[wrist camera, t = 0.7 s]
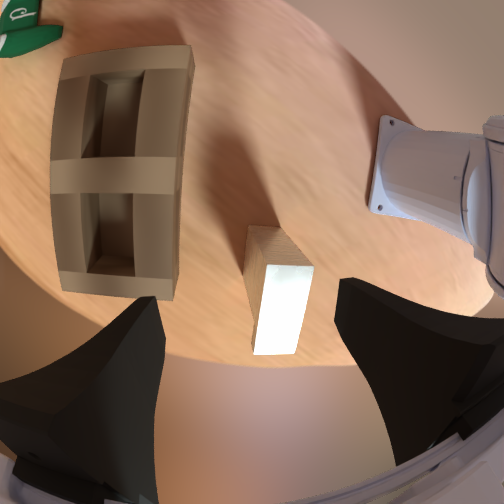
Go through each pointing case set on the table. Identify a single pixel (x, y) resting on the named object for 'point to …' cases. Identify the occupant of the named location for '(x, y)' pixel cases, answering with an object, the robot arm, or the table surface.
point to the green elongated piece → (23, 28)
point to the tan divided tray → (120, 169)
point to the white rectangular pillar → (275, 288)
